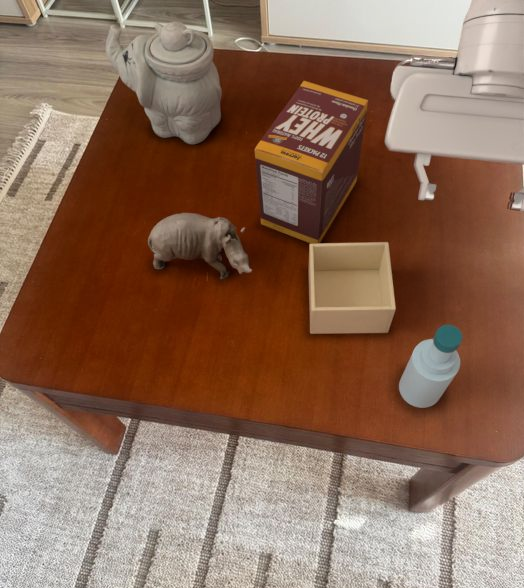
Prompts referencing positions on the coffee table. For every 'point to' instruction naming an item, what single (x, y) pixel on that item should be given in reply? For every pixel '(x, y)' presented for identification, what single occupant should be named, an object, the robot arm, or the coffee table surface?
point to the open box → (350, 288)
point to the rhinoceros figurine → (198, 241)
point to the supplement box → (310, 161)
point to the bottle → (431, 368)
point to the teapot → (171, 79)
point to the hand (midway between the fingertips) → (470, 205)
